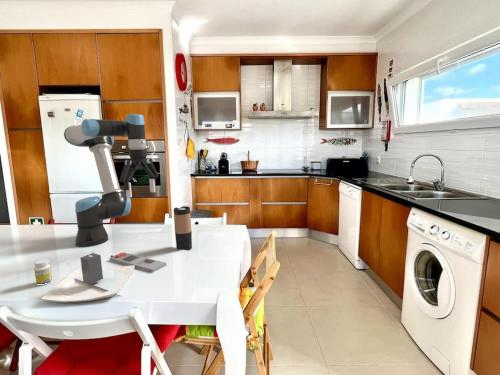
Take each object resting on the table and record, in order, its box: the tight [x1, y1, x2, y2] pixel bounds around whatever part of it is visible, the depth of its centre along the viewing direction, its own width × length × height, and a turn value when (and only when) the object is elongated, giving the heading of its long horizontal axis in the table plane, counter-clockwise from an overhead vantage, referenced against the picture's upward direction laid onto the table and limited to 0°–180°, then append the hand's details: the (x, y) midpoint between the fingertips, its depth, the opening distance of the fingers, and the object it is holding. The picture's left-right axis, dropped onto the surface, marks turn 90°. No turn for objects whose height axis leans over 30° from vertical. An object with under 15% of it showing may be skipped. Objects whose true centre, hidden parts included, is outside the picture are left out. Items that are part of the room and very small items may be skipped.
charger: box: [79, 252, 104, 285], centre depth 100 cm, size 4×4×9 cm
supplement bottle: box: [34, 258, 53, 285], centre depth 104 cm, size 5×5×8 cm
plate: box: [41, 265, 136, 303], centre depth 101 cm, size 24×24×3 cm
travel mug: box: [173, 205, 193, 251], centre depth 134 cm, size 8×8×20 cm
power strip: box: [109, 252, 167, 273], centre depth 118 cm, size 30×7×3 cm, turn 61°
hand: (141, 194), depth 132 cm, fingers open, 13 cm apart
